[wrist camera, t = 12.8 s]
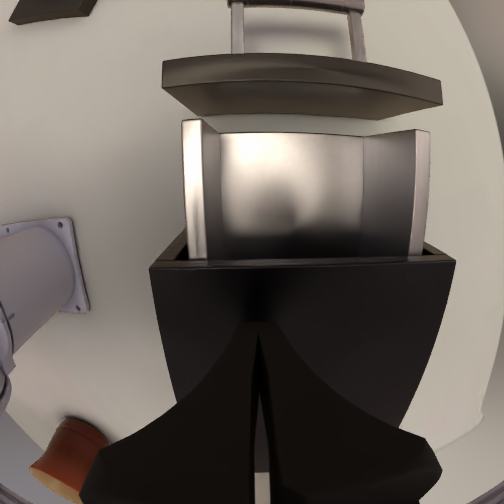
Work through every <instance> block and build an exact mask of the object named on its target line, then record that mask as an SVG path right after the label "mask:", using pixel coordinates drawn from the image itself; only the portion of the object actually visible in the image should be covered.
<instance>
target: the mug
mask: <svg viewBox="0 0 504 504" xmlns="http://www.w3.org/2000/svg"><path fill="white" fill-rule="evenodd" d="M107 446H109V443H108V441H107V439H106V438H105V437H104V435H103V434H102V433H101V432H100V431H99V430H97V429H96V428H95V427H93V426H92V425H90V424H88V423H86V422H84V421H82V420H79V419H72V418H69V419H65V420H64V421H63V422H62V423H61V424H60V425H59V427H58V428H57V429H56V432H55V433H54V435H53V437H52V439H51V441H50V443H49V445H48V447H47V449H46V451H45V453H44V454H43V455H42V457H41V458H40V459H39V460H38V461H36V462H35V463H34V464H33V465H31V466H30V467H29V469H30V472H31V473H32V474H33V475H34V477H36V478H37V479H38V480H39V481H40V482H41V483H43V484H44V485H45V486H46V487H48V488H49V489H51V490H52V491H54V492H55V493H57V494H59V495H60V496H62V497H64V498H66V499H68V500H70V501H72V502H74V503H76V504H83V503H82V501H81V499H80V497H79V493H80V490H81V488H82V485H83V483H84V480H85V478H86V475H87V473H88V470H89V468H90V466H91V464H92V462H93V460H94V458H95V457H96V455H97V453H98V451H99V450H100V449H102V448H104V447H107Z"/></svg>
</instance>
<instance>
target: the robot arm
mask: <svg viewBox="0 0 504 504" xmlns="http://www.w3.org/2000/svg"><path fill="white" fill-rule="evenodd" d="M61 222H62V224H63V227H62V226H61ZM78 306H79V307H80V308H79V307H78ZM57 311H65V312H75V313H87V312H88V311H89V304H88V301H87V297H86V293H85V288H84V284H83V280H82V275H81V271H80V266H79V261H78V256H77V250H76V245H75V239H74V232H73V226H72V221H71V219H70V218H68V217H64V218H54V219H45V220H36V221H28V222H20V223H12V224H5V225H1V226H0V416H1V415H2V413H3V412H4V410H5V408H6V406H7V404H8V402H9V399H10V396H11V390H12V387H11V382H10V379H9V377H8V374H9V373H10V372H11V371H12V370H13V369H14V368H15V367H16V365H15V363H14V360H13V357H12V355H13V354H14V353H15V352H16V351H17V350H18V349H19V348H20V347H21V346H22V345H23V344H24V343H25V342H26V341H27V340H28V339H29V338H30V337H31V336H32V335H33V334H34V333H35V332H36V331H37V330H38V329H39V328H40V327H41V326H42V325H43V324H44V323H45V322H47V321H48V320H49V319H50V318H51V317H52V316H53V315H54V314H55V313H56V312H57ZM259 392H260V399H261V406H262V412H263V419H264V426H265V432H266V439H267V446H268V459H269V484H270V504H420V503H419V500H420V499H421V498H422V497H423V496H424V495H425V494H426V493H427V492H428V491H429V490H430V489H431V488H432V487H433V486H434V485H435V484H436V483H437V481H438V480H439V478H440V476H441V474H442V468H441V466H440V464H439V462H438V460H437V458H436V456H435V454H434V452H433V450H432V448H431V447H430V446H429V444H428V442H427V441H426V439H425V438H423V437H420V436H418V435H415V434H412V433H410V432H407V431H404V430H402V429H399V428H397V427H394V426H392V425H390V424H388V423H386V422H384V421H382V420H380V419H378V418H376V417H374V416H372V415H370V414H368V413H367V412H365V411H363V410H362V409H360V408H359V407H357V406H356V405H354V404H353V403H351V402H350V401H348V400H346V399H345V398H344V397H342V396H341V395H340V394H339V393H337V392H336V391H335V390H334V389H332V388H331V387H330V386H329V385H328V384H327V383H325V382H324V381H323V380H322V379H321V378H320V377H319V376H318V375H317V374H316V373H315V372H314V371H313V370H312V369H311V368H310V367H309V366H308V364H307V363H306V362H305V361H304V360H303V359H302V357H301V356H300V355H299V354H298V352H297V351H296V350H295V349H294V347H293V346H292V345H291V343H290V342H289V340H288V339H287V337H286V336H285V334H284V333H283V331H282V329H281V328H280V326H279V324H278V323H277V322H254V323H239V324H238V325H237V326H236V328H235V331H234V333H233V335H232V337H231V339H230V340H229V342H228V344H227V345H226V347H225V349H224V350H223V352H222V353H221V355H220V356H219V358H218V359H217V360H216V362H215V363H214V364H213V366H212V367H211V368H210V369H209V371H208V372H207V373H206V375H205V376H204V377H203V378H202V379H201V380H200V381H199V383H198V384H197V385H196V386H195V387H194V388H193V389H192V390H191V391H190V392H189V393H188V394H187V395H186V396H185V397H183V398H182V399H181V400H180V401H179V402H178V403H177V404H175V405H174V406H173V407H172V408H171V409H169V410H168V411H167V412H166V413H164V414H163V415H162V416H160V417H159V418H157V419H156V420H154V421H153V422H151V423H150V424H148V425H147V426H145V427H144V428H142V429H140V430H139V431H137V432H135V433H134V434H132V435H130V436H128V437H126V438H124V439H122V440H120V441H117V442H115V443H113V444H111V445H109V446H107V447H104V448H102V449H100V450H99V451H98V453H97V455H96V457H95V458H94V460H93V462H92V464H91V466H90V468H89V470H88V473H87V475H86V478H85V480H84V483H83V485H82V488H81V490H80V493H79V497H80V499H81V501H82V503H83V504H255V438H256V427H257V416H258V404H259ZM0 504H32V503H31V502H29V501H27V500H25V499H24V498H22V497H20V496H19V495H17V494H16V493H14V492H13V491H11V490H9V489H8V488H6V487H5V486H3V485H2V484H0ZM468 504H504V481H503V482H501V483H500V484H498V485H497V486H495V487H494V488H492V489H491V490H489V491H488V492H486V493H484V494H483V495H481V496H479V497H478V498H476V499H474V500H473V501H471V502H469V503H468Z"/></svg>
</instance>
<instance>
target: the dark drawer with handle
mask: <svg viewBox="0 0 504 504" xmlns="http://www.w3.org/2000/svg"><path fill="white" fill-rule="evenodd" d="M227 6H228V8H231V54H219V55H206V56H196V57H187V58H180V59H173V60H166V61H163V63H162V89H164V90H165V91H166V92H168V93H169V94H170V95H171V96H173V97H174V98H175V99H177V100H178V101H179V102H180V103H182V104H183V105H184V106H186V107H187V108H188V109H189V110H191V111H192V112H193V113H194V114H196V115H197V116H202V115H217V114H239V113H294V114H316V115H330V116H342V117H352V118H361V119H370V120H377V121H378V120H381V119H385V118H389V117H393V116H397V115H401V114H405V113H409V112H414V111H418V110H422V109H427V108H432V107H436V106H441V105H443V100H442V89H441V81H440V80H437V79H434V78H430V77H427V76H424V75H420V74H417V73H413V72H409V71H405V70H401V69H397V68H392V67H388V66H383V65H378V64H373V63H368V62H367V60H366V51H365V43H364V36H363V29H362V22H361V16H362V15H363V12H364V8H365V4H364V0H227ZM251 7H266V8H292V9H305V10H315V11H323V12H331V13H338V14H344V15H347V19H348V26H349V34H350V42H351V51H352V60H350V59H342V58H335V57H326V56H316V55H303V54H284V53H244V8H251ZM181 136H182V168H183V190H184V207H185V222H186V235H187V247H188V258H189V261H202V260H263V259H312V258H354V257H392V256H422V251H423V244H424V236H425V228H426V219H427V208H428V195H429V177H430V132H428V131H423V130H418V129H413V130H405V131H398V132H391V133H384V134H378V135H372V136H366V137H361V136H350V135H338V134H322V133H299V132H239V133H218V132H217V131H216V130H215V129H213V128H212V127H211V126H210V125H209V124H207V123H206V122H205V121H204V120H203V119H200V118H199V119H187V120H182V122H181Z"/></svg>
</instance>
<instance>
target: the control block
mask: <svg viewBox="0 0 504 504" xmlns="http://www.w3.org/2000/svg"><path fill="white" fill-rule="evenodd" d="M96 1H97V0H19V2H18V4H17V6H16V8H15V9H14V11H13V13H12V15H11V17H10V19H9V22H12V23H14V24H17V25H21V24H26V23H31V22H37V21H43V20H50V19H58V18H67V17H79V16H89V14H90V12H91V10H92V8H93V6H94V5H95V3H96Z"/></svg>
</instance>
